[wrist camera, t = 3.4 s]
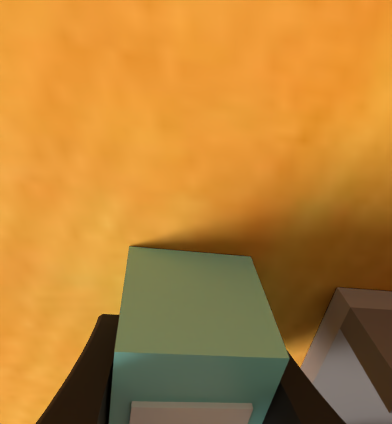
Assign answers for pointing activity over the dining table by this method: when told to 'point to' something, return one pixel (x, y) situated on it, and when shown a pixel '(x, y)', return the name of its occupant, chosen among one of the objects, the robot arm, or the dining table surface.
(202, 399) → the teal box
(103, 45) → the dining table surface
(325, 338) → the gray shelf unit
